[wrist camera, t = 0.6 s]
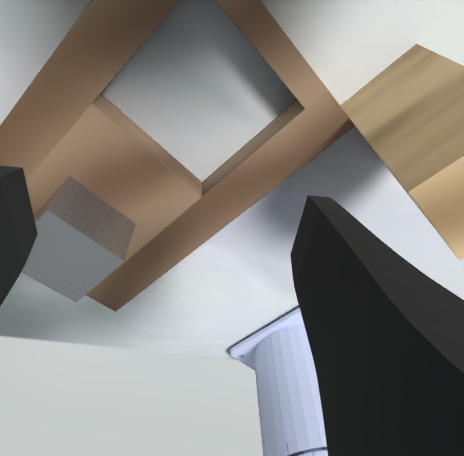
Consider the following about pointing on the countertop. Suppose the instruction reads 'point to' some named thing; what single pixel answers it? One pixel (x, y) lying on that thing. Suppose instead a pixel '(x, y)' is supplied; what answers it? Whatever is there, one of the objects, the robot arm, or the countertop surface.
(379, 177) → the countertop surface
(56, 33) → the countertop surface
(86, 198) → the gray cube
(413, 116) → the oak peg
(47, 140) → the brown wooden frame
